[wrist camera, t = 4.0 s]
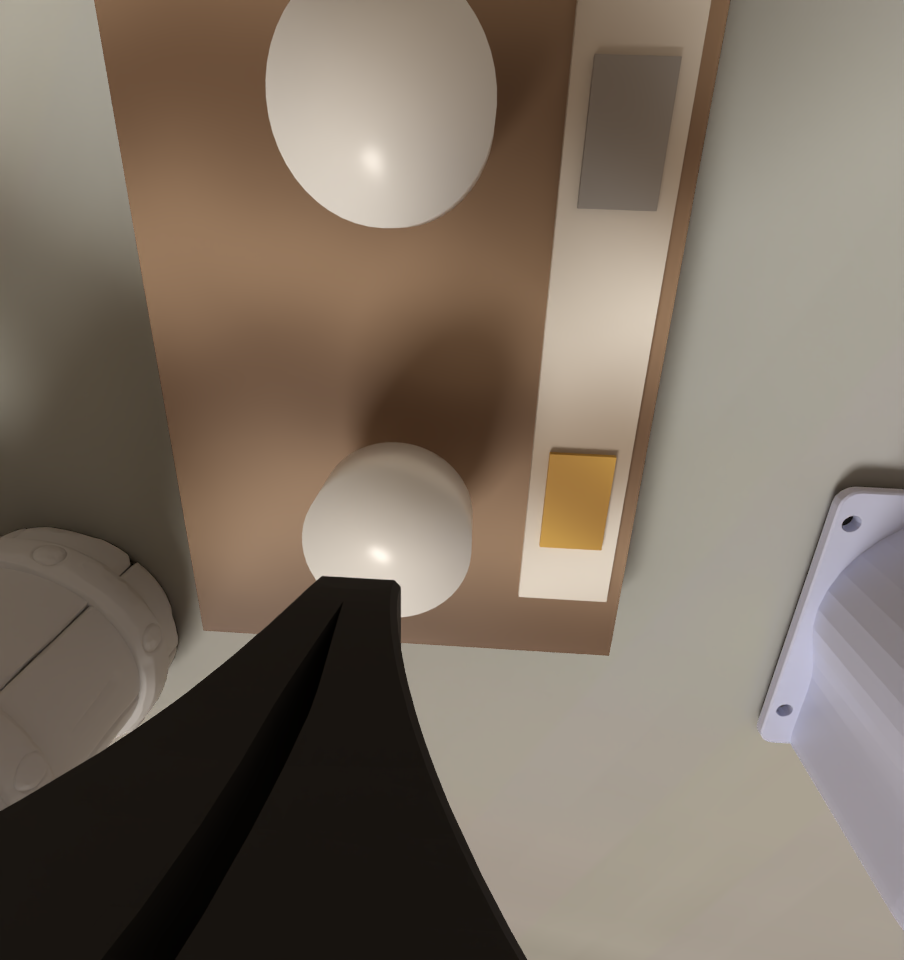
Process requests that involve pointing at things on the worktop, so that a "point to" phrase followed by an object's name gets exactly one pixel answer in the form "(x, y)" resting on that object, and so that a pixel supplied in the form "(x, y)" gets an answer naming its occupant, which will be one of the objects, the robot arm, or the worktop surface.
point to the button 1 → (393, 523)
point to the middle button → (382, 105)
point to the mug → (73, 652)
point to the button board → (419, 304)
